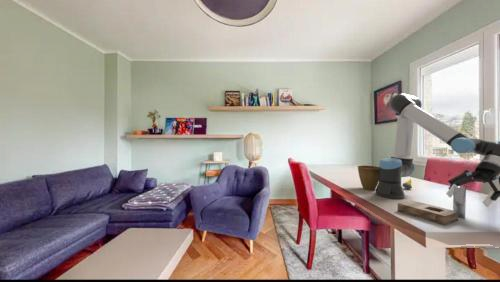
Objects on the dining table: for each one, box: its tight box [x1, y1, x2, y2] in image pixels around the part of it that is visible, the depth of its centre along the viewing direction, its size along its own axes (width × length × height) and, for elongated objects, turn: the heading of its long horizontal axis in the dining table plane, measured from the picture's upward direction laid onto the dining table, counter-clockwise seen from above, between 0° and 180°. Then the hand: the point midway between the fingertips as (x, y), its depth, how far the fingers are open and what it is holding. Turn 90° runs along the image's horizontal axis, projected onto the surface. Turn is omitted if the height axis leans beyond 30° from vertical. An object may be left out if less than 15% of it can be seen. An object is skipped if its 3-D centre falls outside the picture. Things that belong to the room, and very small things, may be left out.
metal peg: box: [452, 185, 467, 219], centre depth 93 cm, size 4×4×14 cm
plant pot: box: [357, 164, 379, 191], centre depth 141 cm, size 15×15×16 cm
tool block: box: [397, 199, 459, 226], centre depth 93 cm, size 18×12×4 cm, turn 25°
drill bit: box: [402, 178, 413, 191], centre depth 143 cm, size 5×5×10 cm
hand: (465, 199), depth 92 cm, fingers open, 13 cm apart
